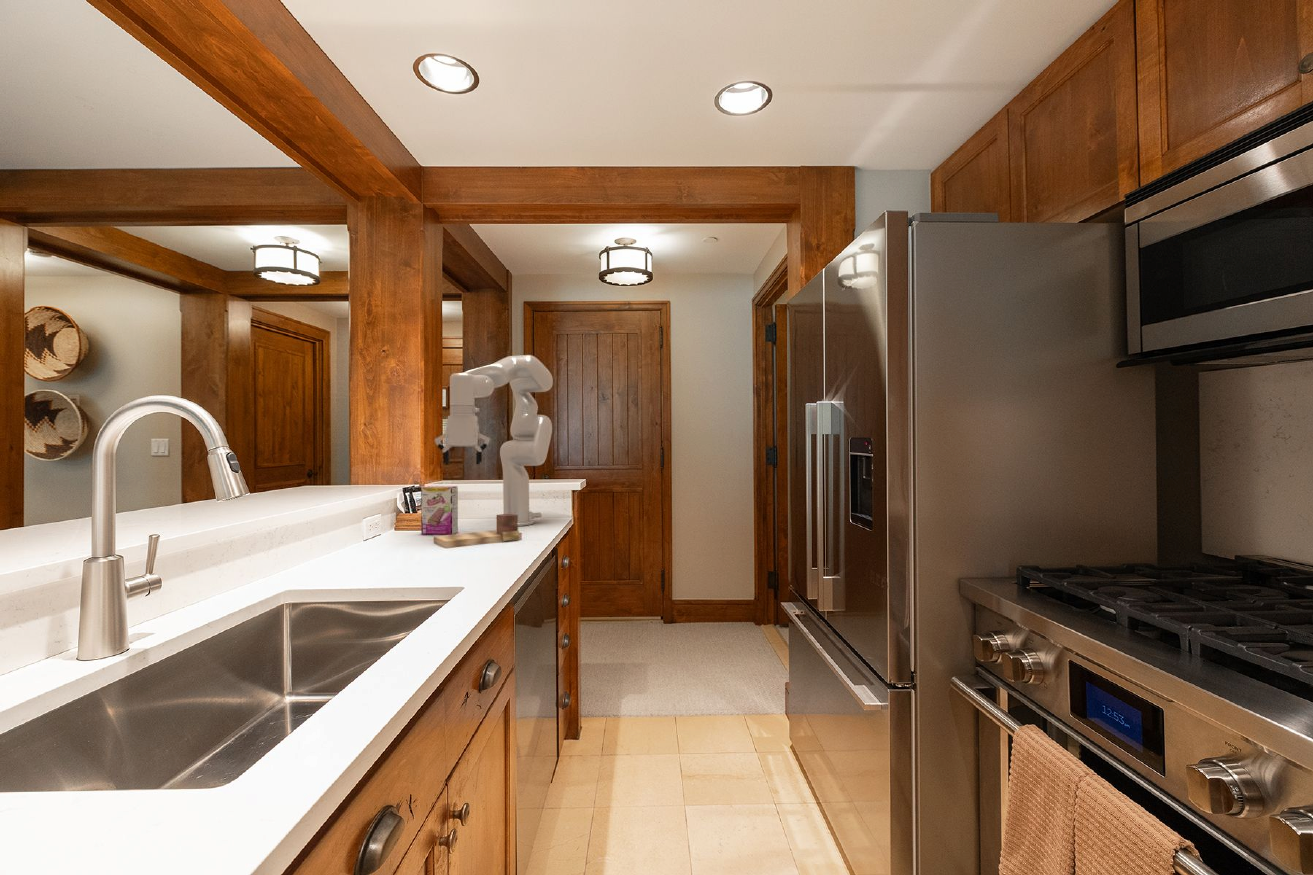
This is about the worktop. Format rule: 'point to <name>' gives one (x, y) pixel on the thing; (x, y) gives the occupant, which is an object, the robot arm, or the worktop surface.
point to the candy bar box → (439, 510)
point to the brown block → (508, 526)
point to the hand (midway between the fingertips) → (462, 464)
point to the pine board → (470, 539)
